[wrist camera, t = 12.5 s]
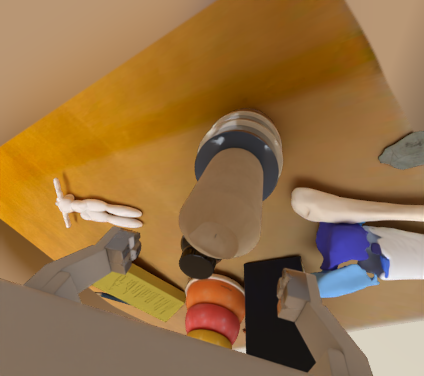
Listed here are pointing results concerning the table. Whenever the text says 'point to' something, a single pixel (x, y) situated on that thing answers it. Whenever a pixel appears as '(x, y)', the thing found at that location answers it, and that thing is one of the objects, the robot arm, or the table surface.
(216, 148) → the cup stack
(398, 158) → the rock
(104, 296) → the pencil
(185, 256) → the supplement bottle
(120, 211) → the decorative figure
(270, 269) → the decorative box
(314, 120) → the table surface
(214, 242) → the candle
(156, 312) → the flat olive board
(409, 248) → the blue white plush toy
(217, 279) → the stacking toy
